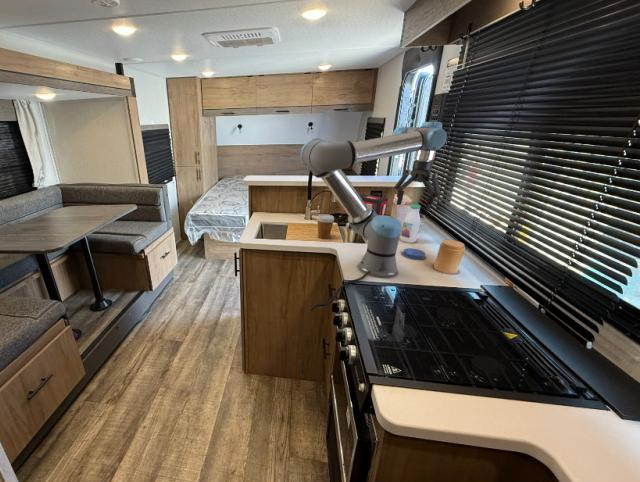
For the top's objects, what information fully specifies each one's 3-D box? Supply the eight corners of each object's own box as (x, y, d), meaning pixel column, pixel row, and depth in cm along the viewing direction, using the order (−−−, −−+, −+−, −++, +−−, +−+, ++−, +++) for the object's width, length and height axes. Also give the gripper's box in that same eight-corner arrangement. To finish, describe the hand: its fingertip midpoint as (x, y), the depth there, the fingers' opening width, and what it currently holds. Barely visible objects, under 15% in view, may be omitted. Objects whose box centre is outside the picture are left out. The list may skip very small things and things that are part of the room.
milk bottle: (412, 238, 172) (420, 203, 164) (418, 243, 165) (427, 207, 157) (397, 237, 173) (405, 203, 164) (403, 242, 166) (411, 207, 157)
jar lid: (409, 250, 156) (410, 246, 156) (428, 256, 149) (429, 253, 148) (398, 254, 152) (399, 250, 151) (417, 261, 144) (418, 257, 144)
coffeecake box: (388, 224, 194) (394, 194, 186) (400, 225, 192) (407, 194, 184) (391, 232, 181) (398, 199, 173) (405, 233, 179) (412, 200, 171)
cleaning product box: (348, 228, 187) (353, 196, 179) (355, 225, 193) (360, 193, 185) (375, 235, 177) (381, 201, 169) (381, 231, 182) (388, 198, 174)
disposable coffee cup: (325, 241, 168) (328, 220, 163) (311, 236, 175) (313, 216, 170) (335, 237, 174) (338, 216, 169) (321, 232, 181) (323, 213, 176)
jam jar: (451, 275, 131) (459, 248, 126) (429, 267, 138) (437, 241, 133) (461, 270, 135) (469, 244, 130) (440, 263, 142) (447, 237, 137)
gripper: (459, 163, 125) (444, 213, 134) (401, 156, 145) (392, 200, 153) (449, 164, 122) (435, 215, 130) (392, 157, 141) (383, 202, 149)
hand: (412, 207), depth 142 cm, fingers open, 13 cm apart
